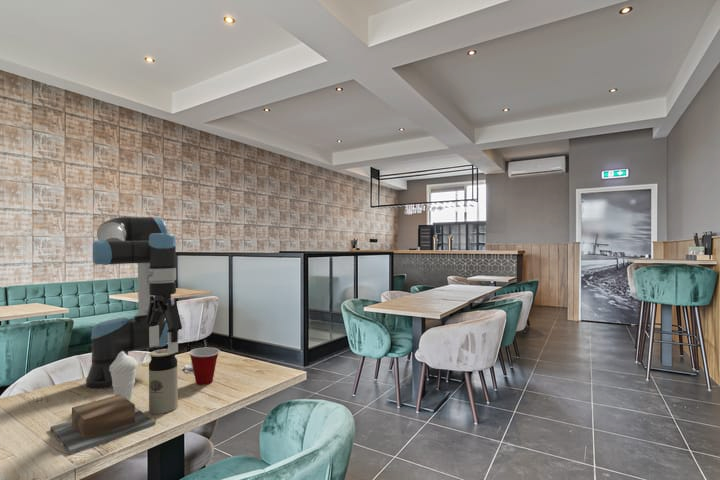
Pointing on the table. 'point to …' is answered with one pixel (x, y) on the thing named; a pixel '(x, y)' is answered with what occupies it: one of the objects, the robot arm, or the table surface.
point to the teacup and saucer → (188, 368)
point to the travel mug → (162, 382)
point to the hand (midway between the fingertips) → (163, 349)
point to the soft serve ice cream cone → (123, 375)
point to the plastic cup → (204, 364)
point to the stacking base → (100, 438)
